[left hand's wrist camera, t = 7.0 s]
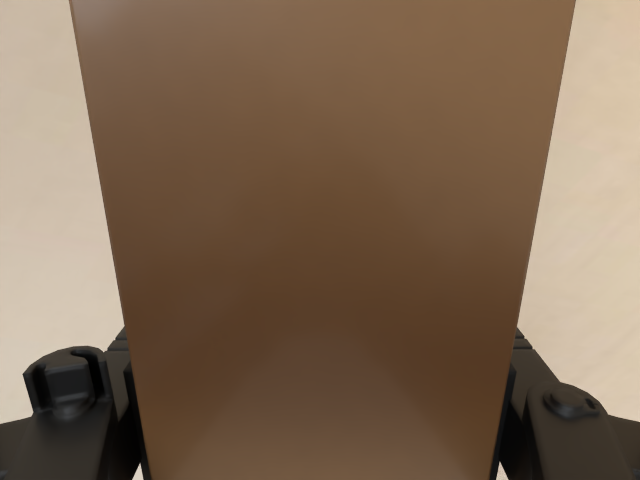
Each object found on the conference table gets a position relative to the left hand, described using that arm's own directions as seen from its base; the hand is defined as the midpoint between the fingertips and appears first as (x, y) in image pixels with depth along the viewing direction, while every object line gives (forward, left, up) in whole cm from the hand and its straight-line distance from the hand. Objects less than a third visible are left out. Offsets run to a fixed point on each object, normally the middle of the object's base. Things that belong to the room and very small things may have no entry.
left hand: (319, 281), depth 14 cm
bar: (+10, +30, -1) cm, 32 cm away
